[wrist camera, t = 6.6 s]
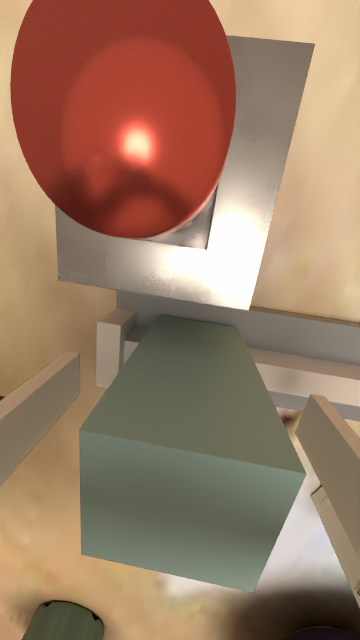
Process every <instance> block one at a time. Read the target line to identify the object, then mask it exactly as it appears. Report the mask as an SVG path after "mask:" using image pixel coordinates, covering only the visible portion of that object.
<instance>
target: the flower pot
mask: <svg viewBox="0 0 360 640" xmlns="http://www.w3.org/2000/svg"><path fill="white" fill-rule="evenodd" d="M103 634H104V627H103V624H102V622H101V621H100V619H95V620H94V619H93V616H92V612H90V611H89V610H87V609H85V608H83V607H80V606H79V605H76V604H73V603H68V602H52V603H51V604H50V605H49V606H46V605H42V606H40V607H39V608H38V610H37V611H36V613H35V615H34V617H33V619H32V621H31V623H30V625H29V627H28V629H27V631H26V632H25V634H24V636H23V638H22V640H103Z"/></svg>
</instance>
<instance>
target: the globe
mask: <svg viewBox="0 0 360 640" xmlns="http://www.w3.org/2000/svg"><path fill="white" fill-rule="evenodd" d="M284 640H360V635H358V634H355V633H352V632H349V631H345V630H341V629H337V628H333V627H329V626H314V627H308V628H304V629H301V630H298V631H296V632H293V633H292V634H291V635H289V636H288V637H286V638H285V639H284Z"/></svg>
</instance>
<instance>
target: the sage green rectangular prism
mask: <svg viewBox="0 0 360 640" xmlns="http://www.w3.org/2000/svg"><path fill="white" fill-rule="evenodd" d="M79 431H80V506H81V555H86V556H90V557H95V558H99V559H104V560H108V561H113V562H117V563H122V564H126V565H131V566H135V567H140V568H144V569H149V570H153V571H158V572H162V573H167V574H171V575H176V576H180V577H185V578H189V579H194V580H198V581H203V582H207V583H212V584H216V585H221V586H225V587H230V588H234V589H239V590H243V591H248V592H252V593H253V591H254V589H255V587H256V585H257V582H258V580H259V578H260V576H261V574H262V571H263V569H264V567H265V565H266V562H267V560H268V558H269V556H270V554H271V551H272V549H273V547H274V545H275V542H276V540H277V538H278V536H279V534H280V531H281V529H282V527H283V525H284V522H285V520H286V518H287V516H288V514H289V511H290V509H291V507H292V505H293V502H294V500H295V498H296V496H297V494H298V491H299V489H300V487H301V485H302V482H303V480H304V478H305V476H306V472H305V470H304V468H303V465H302V463H301V461H300V459H299V457H298V455H297V453H296V450H295V448H294V446H293V444H292V442H291V440H290V437H289V435H288V433H287V431H286V429H285V427H284V425H283V422H282V420H281V418H280V416H279V414H278V412H277V409H276V407H275V405H274V403H273V401H272V399H271V397H270V394H269V392H268V390H267V388H266V386H265V384H264V381H263V379H262V377H261V375H260V373H259V371H258V369H257V366H256V364H255V362H254V360H253V358H252V356H251V354H250V351H249V349H248V347H247V345H246V343H245V341H244V338H241V336H240V334H239V332H238V329H237V327H232V326H226V325H220V324H213V323H207V322H201V321H195V320H189V319H183V318H176V317H170V316H164V315H159V316H158V318H157V319H156V321H155V322H154V323H152V324H151V326H150V327H149V329H148V330H147V332H146V333H145V335H144V336H143V338H142V339H141V341H140V342H139V344H138V345H137V346H136V348H135V349H134V351H133V352H132V354H131V355H130V357H129V358H128V360H127V361H126V363H125V364H124V366H123V367H122V368H121V370H120V371H119V373H118V374H117V376H116V377H115V379H114V380H113V382H112V383H111V385H110V386H109V388H108V389H107V390H106V392H105V393H104V395H103V396H102V398H101V399H100V401H99V402H98V404H97V405H96V407H95V408H94V410H93V411H92V413H91V414H90V415H89V417H88V418H87V420H86V421H85V423H84V424H83V426H82V427H81V429H80V430H79Z"/></svg>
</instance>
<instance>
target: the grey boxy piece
mask: <svg viewBox="0 0 360 640" xmlns="http://www.w3.org/2000/svg"><path fill="white" fill-rule="evenodd" d="M226 38H227V41H228V44H229V47H230V51H231V56H232V61H233V66H234V72H235V83H236V112H235V120H234V128H233V133H232V137H231V141H230V146H229V150H228V154H227V157H226V161H225V165H224V169H223V172H222V175H221V177H220V180H219V183H218V185H217V187H216V189H215V191H214V193H213V195H212V196H211V198H210V200H209V201H208V203H207V204H206V205H205V207H204V208H203V209H202V210H201V212H200V213H199V214H198V216H197V218H196V219H195V221H194V222H193V223H192V224H191V225H190V226H189V227H187V228H186V229H184V230H182V231H179V232H174V233H171V234H169V235H166V236H163V237H159V238H155V239H147V240H136V239H127V238H121V237H114V236H110V235H105V234H101V233H98V232H96V231H93V230H90V229H88V228H86V227H84V226H83V225H81V224H79V223H77V222H76V221H74V220H73V219H71V218H70V217H69V216H67V215H66V214H65V213H64V212H63V211H62V210H60V209H59V208H58V207H57V206H56V205H55V211H56V235H57V259H58V280H59V281H65V282H72V283H78V284H84V285H91V286H97V287H103V288H110V289H116V290H122V291H129V292H135V293H141V294H148V295H154V296H160V297H167V298H173V299H179V300H186V301H192V302H198V303H205V304H211V305H217V306H224V307H230V308H236V309H243V310H249V307H250V303H251V299H252V295H253V291H254V287H255V283H256V279H257V275H258V271H259V267H260V263H261V259H262V255H263V251H264V247H265V243H266V239H267V235H268V231H269V227H270V223H271V219H272V215H273V211H274V207H275V203H276V199H277V195H278V191H279V187H280V183H281V179H282V175H283V171H284V167H285V163H286V159H287V155H288V151H289V147H290V143H291V139H292V135H293V131H294V126H295V122H296V118H297V114H298V110H299V106H300V102H301V98H302V94H303V90H304V86H305V82H306V78H307V74H308V70H309V66H310V62H311V58H312V54H313V50H314V46H315V44H312V43H301V42H291V41H280V40H270V39H259V38H249V37H238V36H228V35H226Z"/></svg>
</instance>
